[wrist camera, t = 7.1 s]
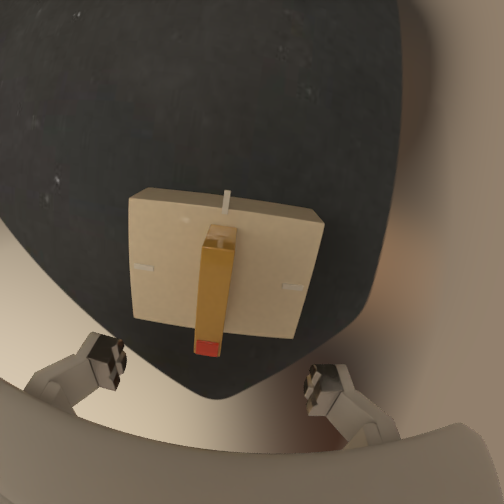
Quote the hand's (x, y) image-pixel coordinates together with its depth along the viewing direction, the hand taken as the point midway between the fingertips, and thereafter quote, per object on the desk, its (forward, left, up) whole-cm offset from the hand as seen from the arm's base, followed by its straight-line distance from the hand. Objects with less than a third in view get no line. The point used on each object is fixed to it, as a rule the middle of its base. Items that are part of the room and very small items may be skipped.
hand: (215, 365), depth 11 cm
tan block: (+1, 0, -11) cm, 11 cm away
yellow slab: (+1, 0, -7) cm, 7 cm away
